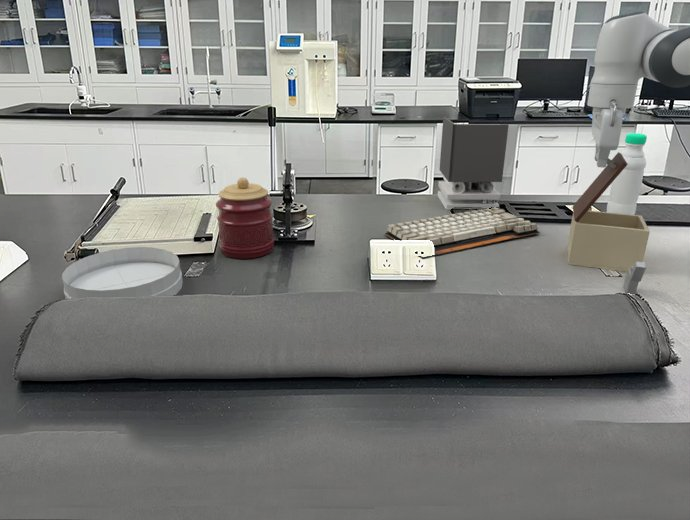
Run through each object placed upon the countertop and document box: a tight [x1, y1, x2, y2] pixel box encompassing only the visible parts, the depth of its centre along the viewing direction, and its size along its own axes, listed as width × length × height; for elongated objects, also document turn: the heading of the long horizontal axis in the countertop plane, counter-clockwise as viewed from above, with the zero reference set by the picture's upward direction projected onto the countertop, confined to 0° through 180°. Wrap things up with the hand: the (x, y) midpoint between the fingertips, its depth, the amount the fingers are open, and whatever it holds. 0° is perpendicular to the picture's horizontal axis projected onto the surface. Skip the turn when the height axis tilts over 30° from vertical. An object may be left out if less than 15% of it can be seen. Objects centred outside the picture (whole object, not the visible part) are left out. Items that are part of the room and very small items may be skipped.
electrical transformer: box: [437, 116, 509, 211], centre depth 163 cm, size 16×19×25 cm
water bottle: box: [606, 132, 648, 215], centre depth 140 cm, size 7×7×25 cm
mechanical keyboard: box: [384, 207, 541, 256], centre depth 138 cm, size 38×19×3 cm, turn 117°
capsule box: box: [566, 210, 651, 273], centre depth 121 cm, size 15×12×10 cm
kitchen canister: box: [215, 177, 275, 260], centre depth 125 cm, size 13×13×18 cm
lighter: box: [622, 261, 647, 295], centre depth 105 cm, size 7×2×8 cm, turn 161°
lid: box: [572, 151, 628, 222], centre depth 118 cm, size 15×12×5 cm
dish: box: [61, 246, 184, 300], centre depth 107 cm, size 22×22×5 cm
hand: (599, 163), depth 116 cm, fingers closed on lid, 5 cm apart
